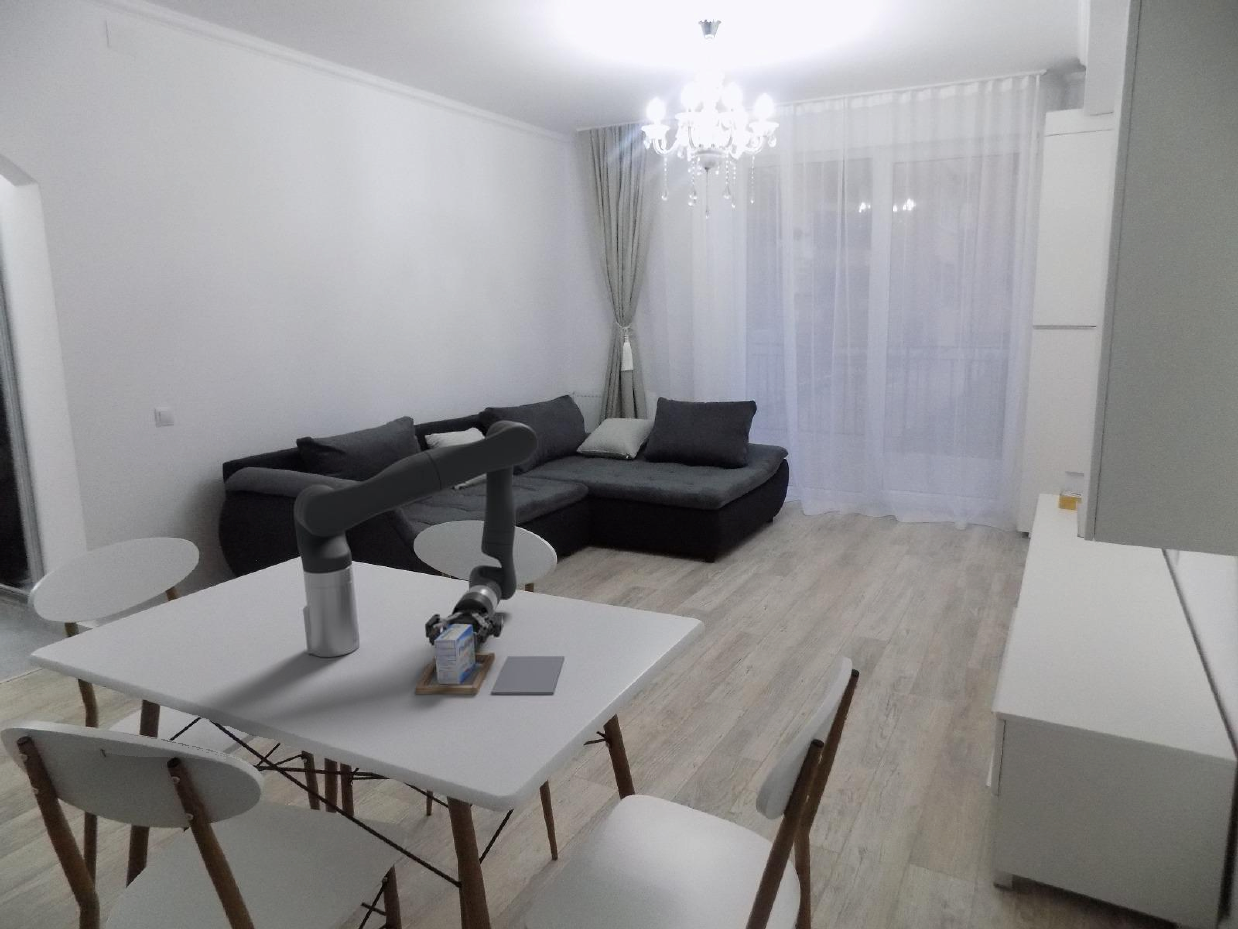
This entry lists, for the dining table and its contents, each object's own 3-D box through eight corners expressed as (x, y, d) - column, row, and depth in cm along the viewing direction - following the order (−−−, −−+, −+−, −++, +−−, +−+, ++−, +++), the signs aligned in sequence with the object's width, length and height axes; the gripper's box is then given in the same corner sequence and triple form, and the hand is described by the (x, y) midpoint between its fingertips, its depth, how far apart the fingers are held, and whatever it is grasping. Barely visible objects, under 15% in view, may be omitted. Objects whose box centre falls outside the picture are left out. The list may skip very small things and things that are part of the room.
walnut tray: (415, 694, 146) (414, 687, 145) (438, 658, 160) (438, 652, 160) (477, 694, 145) (476, 687, 145) (494, 658, 160) (494, 652, 159)
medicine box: (460, 686, 148) (456, 640, 147) (436, 684, 149) (433, 639, 148) (476, 667, 156) (473, 624, 154) (454, 666, 157) (450, 622, 155)
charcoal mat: (491, 694, 145) (490, 692, 145) (507, 658, 159) (507, 656, 159) (553, 694, 144) (553, 692, 144) (564, 658, 159) (564, 656, 159)
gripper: (439, 591, 168) (416, 621, 152) (509, 591, 167) (492, 621, 151) (442, 626, 169) (419, 660, 153) (511, 626, 168) (495, 659, 152)
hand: (455, 640), depth 152 cm, fingers open, 8 cm apart
